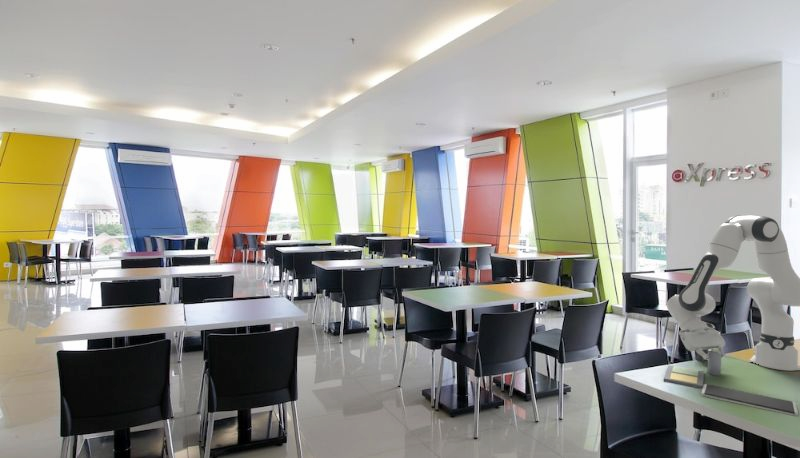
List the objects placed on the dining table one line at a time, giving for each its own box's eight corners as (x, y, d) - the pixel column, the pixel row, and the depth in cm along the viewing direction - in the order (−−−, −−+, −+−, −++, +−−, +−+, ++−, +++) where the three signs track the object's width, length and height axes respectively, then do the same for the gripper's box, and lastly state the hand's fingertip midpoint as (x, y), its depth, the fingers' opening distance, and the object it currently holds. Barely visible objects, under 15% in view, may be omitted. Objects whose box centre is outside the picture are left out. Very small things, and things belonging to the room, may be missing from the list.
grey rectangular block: (707, 371, 200) (708, 346, 200) (720, 373, 197) (721, 348, 197) (707, 373, 196) (708, 348, 196) (720, 376, 194) (721, 350, 193)
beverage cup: (713, 362, 213) (715, 318, 213) (695, 360, 215) (697, 317, 215) (706, 357, 221) (708, 315, 220) (689, 356, 222) (690, 314, 222)
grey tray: (798, 418, 154) (798, 413, 154) (700, 397, 170) (701, 392, 170) (795, 406, 164) (795, 401, 164) (704, 387, 181) (704, 382, 181)
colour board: (668, 367, 203) (668, 364, 203) (703, 373, 196) (704, 370, 196) (663, 381, 185) (663, 377, 185) (702, 388, 178) (703, 385, 178)
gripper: (681, 326, 200) (702, 355, 191) (715, 324, 207) (737, 352, 198) (672, 334, 204) (692, 363, 195) (705, 331, 211) (726, 359, 202)
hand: (715, 357), depth 196 cm, fingers open, 8 cm apart
